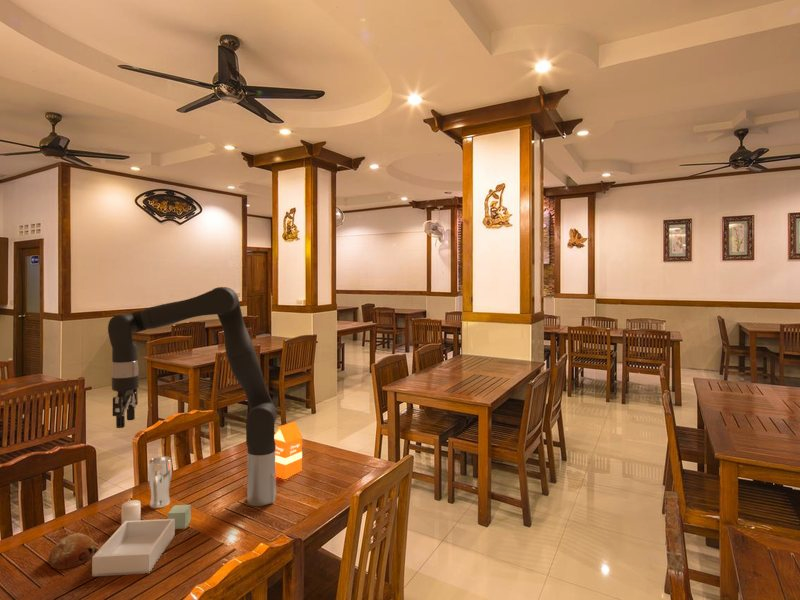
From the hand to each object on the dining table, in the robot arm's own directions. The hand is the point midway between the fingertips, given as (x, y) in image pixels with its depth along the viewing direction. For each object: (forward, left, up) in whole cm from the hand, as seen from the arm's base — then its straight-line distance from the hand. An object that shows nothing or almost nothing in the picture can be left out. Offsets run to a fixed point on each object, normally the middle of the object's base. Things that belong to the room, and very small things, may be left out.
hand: (125, 423), depth 149 cm
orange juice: (-49, -22, -28) cm, 61 cm away
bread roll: (0, +28, -28) cm, 40 cm away
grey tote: (-15, +28, -28) cm, 42 cm away
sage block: (-21, +13, -28) cm, 37 cm away
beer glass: (-10, -1, -28) cm, 30 cm away
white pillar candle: (-7, +13, -28) cm, 32 cm away
